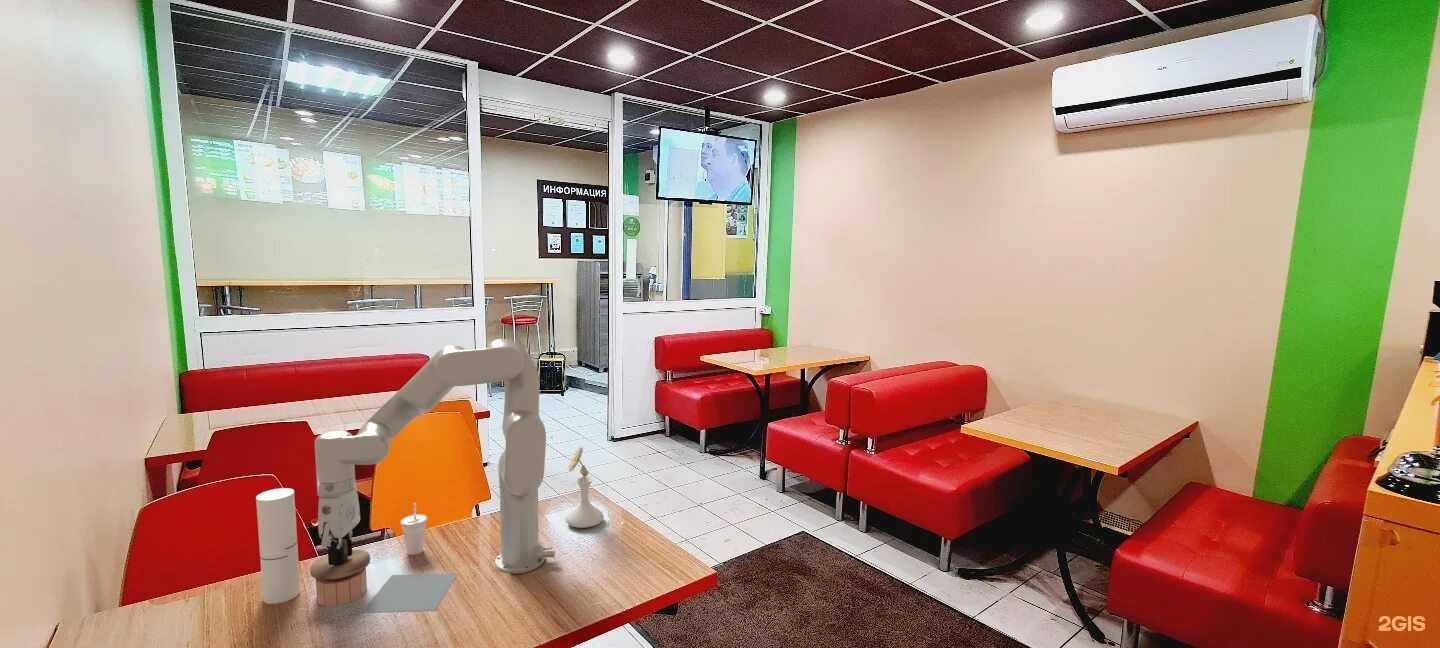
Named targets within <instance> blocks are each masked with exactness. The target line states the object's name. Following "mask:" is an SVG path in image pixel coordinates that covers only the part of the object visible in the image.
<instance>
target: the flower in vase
mask: <svg viewBox="0 0 1440 648" xmlns="http://www.w3.org/2000/svg"><path fill="white" fill-rule="evenodd" d="M583 449H584V448H583V447H582V446H579V447H578V449H575V451H574V455H573V457H571V459H570V461H571V462H570V464H568V466H567V468H569V469H568V471H569V472H572V471H573V470H575V468H576V467H577V465H578V464H579V463H580V465H581V468H580V469H579V470H580V471H579V472H580V474H581V475H582V476H580V477H578V478H576V479H575V481H576V482H577V484H578V486H579V489H580V501H579V504H577V505H576V506H575V507H573V509H571V510H570V511H569V512H568V513H566V516H565V522H566V523H567V524H568V525H569V526H571V527H573V528H581V529H583V528H590V527H594V526H597V525H598V524H600V523H602V521H603V520H604V516H605V515H604V514H603V512H602V510H600V509H599V508H598V507H596V506H595V505H593V504H592V503H591V502H590V499H589V494H590V493H589V491H590V487H591V483H592V482H593V481H594V478H593V477H591V476H588V474H589V470H588V469H587V468H586V465H584V464H583V463H582V461H581V457H582V455H583V451H584V450H583Z"/></svg>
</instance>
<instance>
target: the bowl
mask: <svg viewBox="0 0 1440 648" xmlns="http://www.w3.org/2000/svg"><path fill="white" fill-rule="evenodd" d="M367 581H368V580H367V567H365V568H364V569H363V570H361V571H359V572H357V573H355V574H353V575H350V576H347V577H344V578H339V579H333V580H320V579H315V591H316V603H317V604H318V605H321V606H323V607H339V606H342V605H346V604H349V603H353V602H355V601H357V600H358V599H360V598H362V597H363V596H364V594H366V592H367V591H368V586H367Z"/></svg>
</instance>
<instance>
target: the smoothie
mask: <svg viewBox="0 0 1440 648" xmlns="http://www.w3.org/2000/svg"><path fill="white" fill-rule="evenodd" d="M416 503H417V502H414V503H413V514H412V515H408V516H406V517H404V518H402V519H401V520H400V526H401V527H402V532H403V537H404V541H405V542H404V543H405V548H406V553H407V555H408V556H410V555H411V556H417V555H419V554H421V553H422V552H423V551H424V545H425V534H426V526H427V525H426V524H427V522H428V516H427V515H424V514H417V504H416Z"/></svg>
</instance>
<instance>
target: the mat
mask: <svg viewBox="0 0 1440 648" xmlns="http://www.w3.org/2000/svg"><path fill="white" fill-rule="evenodd" d="M458 573H459V572H458ZM458 573H457V572H456V573H453V572H452V573H421V574H420V573H419V574H418V573H416V574H415V573H413V574H391V576H389V578H388V579H387V580H386V581H385V583H384V584H383V585H382V587H381V588H380V589H379V590H378V592H377V593H375V595H374V596H373V597H372V599H371V600H370V602H369V603H368V604H367V605H366V606H365V607H364V609H363V610H362V611H361V613H362V614H367V613H368V614H369V613H370V614H371V613H374V614H375V613H394V612H395V613H401V612H403V613H405V612H433V611H434V612H436V611H437V608H438V606H439V605H440V603H441V602H442V600H443V599H444V597H445V596H446V594H447V592H448V591H449V589H450V588H451V586H452V584H453V582H454V581H455V580H456V578H457V576H458Z"/></svg>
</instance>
